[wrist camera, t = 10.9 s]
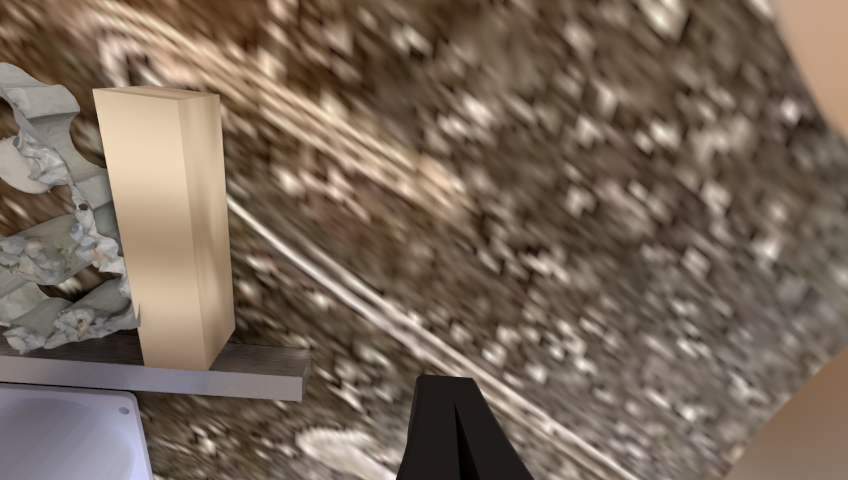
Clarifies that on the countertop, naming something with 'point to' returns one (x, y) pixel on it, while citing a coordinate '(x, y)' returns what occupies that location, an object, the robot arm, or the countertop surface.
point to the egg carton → (57, 226)
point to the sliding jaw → (171, 219)
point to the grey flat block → (160, 369)
